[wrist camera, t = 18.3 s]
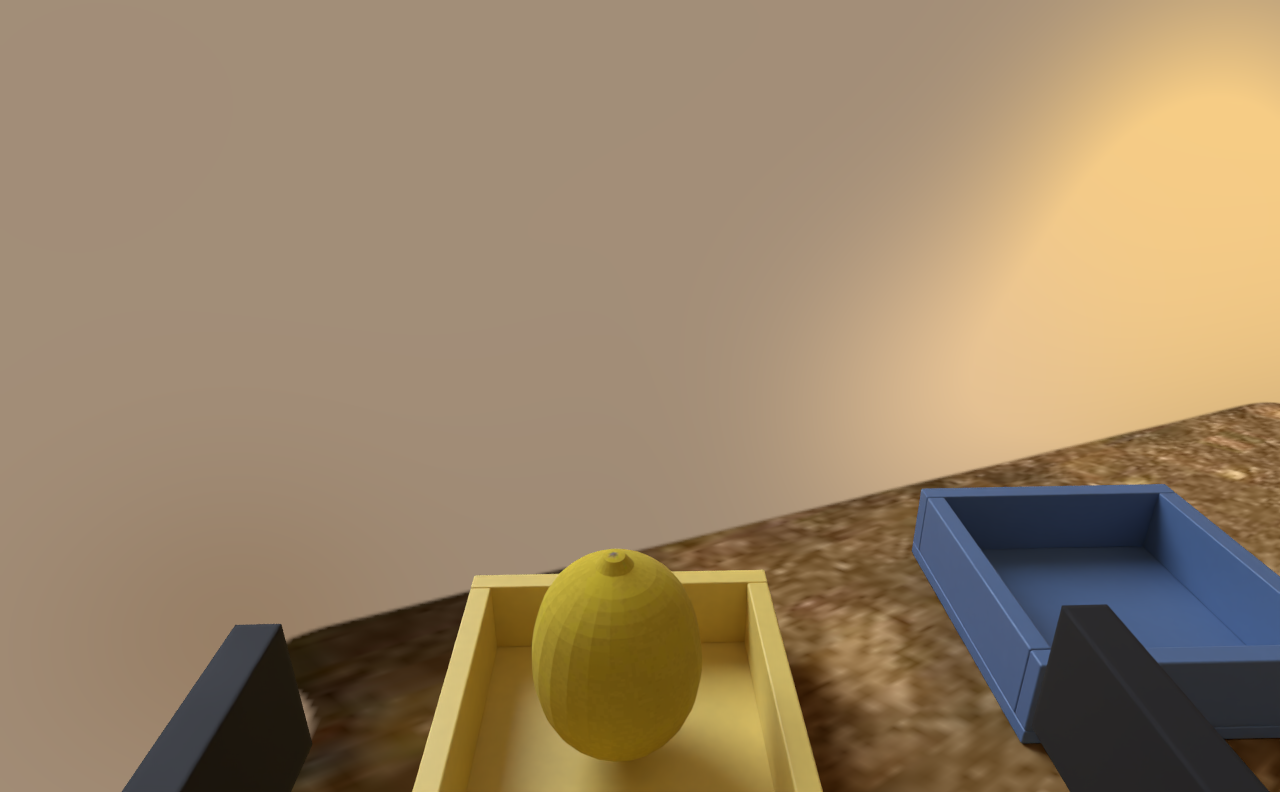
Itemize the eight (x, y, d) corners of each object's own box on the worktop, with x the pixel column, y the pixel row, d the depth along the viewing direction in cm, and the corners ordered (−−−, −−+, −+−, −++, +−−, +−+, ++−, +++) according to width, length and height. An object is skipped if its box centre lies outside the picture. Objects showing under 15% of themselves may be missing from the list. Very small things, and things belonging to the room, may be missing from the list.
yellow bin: (824, 923, 22) (836, 837, 21) (413, 934, 22) (395, 847, 20) (759, 639, 33) (764, 569, 31) (482, 645, 32) (474, 575, 31)
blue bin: (1344, 737, 28) (1383, 658, 26) (1021, 744, 28) (1041, 665, 26) (1145, 547, 38) (1164, 483, 37) (911, 551, 38) (921, 488, 37)
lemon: (623, 663, 31) (618, 488, 27) (732, 745, 27) (742, 553, 24) (507, 745, 27) (486, 554, 24) (614, 851, 23) (607, 643, 20)
